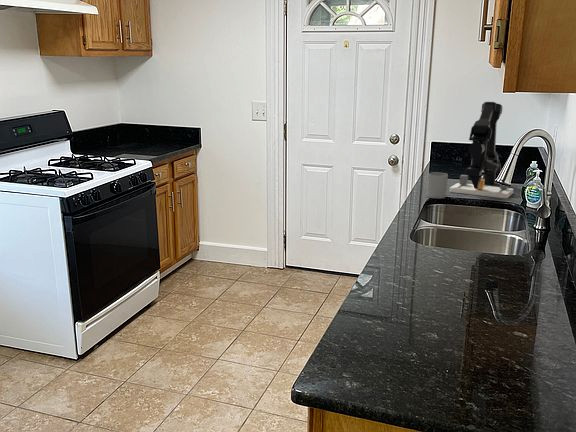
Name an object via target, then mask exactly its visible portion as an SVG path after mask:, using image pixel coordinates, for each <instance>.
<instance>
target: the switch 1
mask: <svg viewBox="0 0 576 432" xmlns="http://www.w3.org/2000/svg"><path fill="white" fill-rule="evenodd" d="M458 183H459V184H462V185H467V184H469V175H465V174H461V175H459V182H458Z"/></svg>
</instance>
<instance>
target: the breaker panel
mask: <svg viewBox="0 0 576 432" xmlns="http://www.w3.org/2000/svg"><path fill="white" fill-rule="evenodd" d="M448 191H449V193H457V194H463V195H465V194H466V195H474V196H482V197H488V198H489V197H490V198H497V199H508V198H509V197H510V196H511V195H513V194H514V188H511V187H508V189H500V186H491V185H484V189H475V188H474V186H473V183H468V184H467V185H462V184H459V182H457V183H455V184H454V185H452V186H450V187H449V190H448Z"/></svg>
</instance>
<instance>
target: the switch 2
mask: <svg viewBox="0 0 576 432" xmlns="http://www.w3.org/2000/svg"><path fill="white" fill-rule="evenodd" d="M499 187H500V189H508V188H509V185H508V186H503V185H500V184H499Z"/></svg>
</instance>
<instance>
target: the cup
mask: <svg viewBox="0 0 576 432" xmlns="http://www.w3.org/2000/svg"><path fill="white" fill-rule="evenodd" d="M448 177H449V175H448V173H445V172H441V171H440V172H437V171H434V172H433V171H432V172H428V173H427V186H426V187H427V188H426V197H427V198H431V199H446V198H447V193H448V180H449V179H448ZM445 197H446V198H445Z"/></svg>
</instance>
